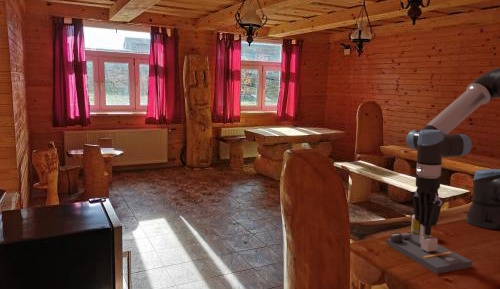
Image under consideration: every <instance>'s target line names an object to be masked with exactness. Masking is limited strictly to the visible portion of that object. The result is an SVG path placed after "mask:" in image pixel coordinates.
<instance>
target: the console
mask: <svg viewBox="0 0 500 289" xmlns="http://www.w3.org/2000/svg"><path fill="white" fill-rule="evenodd" d="M419 241H420V235H418V234H417V235H413V234H411V233H409V232H402V233H398V232H391V234H390V238H386V244H385V245H387V246H389V247H391V248H392V249H394V250H395V251H397V252H398V253H401V255H404V256H406V257H407V258H409V259H411V260H412V261H414V262H416V263H417V264H419V265H421V266H423V267H424V268H426V269H427V270H429V271H431V272H432V273H435V274H443V273H447V272H448V273H449V272H453V271H458V270H465V269H468V268H469V269H470V268H473V267H472V266H473V260H470V259H469V258H467V257H464V256H463V255H461V254H459V253H456V252H454V251H452V250H450V249H448V248H447V247H444V246H442V245H440V244H438V243H437V250H435V251H429V252H427V251H425V250H423V249H421V243H420V242H419Z"/></svg>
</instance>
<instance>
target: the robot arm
mask: <svg viewBox="0 0 500 289" xmlns="http://www.w3.org/2000/svg"><path fill="white" fill-rule="evenodd" d="M499 98H500V67H497V68H494V69H491V70H489V71H488V72H485V73H483V74H482V75H480V76H479V77H477V78H475V79H474V80H473V81H472V82H471V83H469V85H467V87H466V89H465V91H464V92H463V93H462V94H460V96H459V97H457V98H456V99H455V100H454V101H453V102H451V103H450V104H449V105H448V106H447V107H445V108H444V109H443V110H442V111H441V112H440V113H438V115H436V116H435V117H434V118H433V119H432V120H430V121H429V122H428V123H427V124H426V125H425V126H424V127H422V128H420V130H419V129H413V130H410V131H409V132H408V134H407V135H406V144H407V147H408V148H409V149H412V150H415V151H416V152H417V153H416V173H415V174H416V176H415V187H416V189H415V190H414V191H411V193H410V195H411V198H412V204H413V213H414V214H413V215H415V220H418V221H419V223H420V224H419V232H420V241H419V242H420V243H421V237H425V236H431V233H432V227H433V226H437V224H438V221H439V217H440V213H441V210H442V207H443V206H444V204H445V200H443V199H440V197H439V189H440V188H441V176H442V164H443V162H442V160H443V158H452V157H453V158H454V157H462V156H466V155H468V154H469V153H470V152H471V150H472V146H473V145H472V139H471V138H470V137H469V136H468V135H466V134H464V133H463V134H460V133H454V134H451V133H450V132H451V131H453V129H455V128H457V126H459V125H460V123H462V122H464V120H465V119H466V118H468V117H469V116H470V115H471V114H472V113H474V111H475V110H477V109H478V108H479V107H480V106H481V105H486V104H488V103H489V102H490V101H492V100H494V99H499ZM472 180H473V181H472V182H473V184H472V197H471V198H472V199H471V200H472V201H471V205H470V207H469V209H468V211H467V213H466V216H465V221H466V222H467V223H468V224H470V225H472V226H476V227H478V228H479V227H480V228H482V229H483V228H484V229H490V230H500V169H499V168H484V169H478V170H475V172H474V176H473V179H472Z"/></svg>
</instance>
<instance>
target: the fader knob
mask: <svg viewBox="0 0 500 289" xmlns="http://www.w3.org/2000/svg"><path fill="white" fill-rule="evenodd" d="M438 240H439V239H438V238H437V237H436V236H435V235H433V236H432V235H429V236H425V237H421V249H423V250H425V251H427V252H429V251H435V250H437V244H438Z"/></svg>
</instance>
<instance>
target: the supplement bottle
mask: <svg viewBox="0 0 500 289" xmlns="http://www.w3.org/2000/svg"><path fill="white" fill-rule="evenodd" d="M419 224H420V223H419V221H418V220H415V215H414V214H412V216H411V228H410V229H411V230H410V234H411V235H417V234H418V235H420V232H419Z"/></svg>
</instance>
